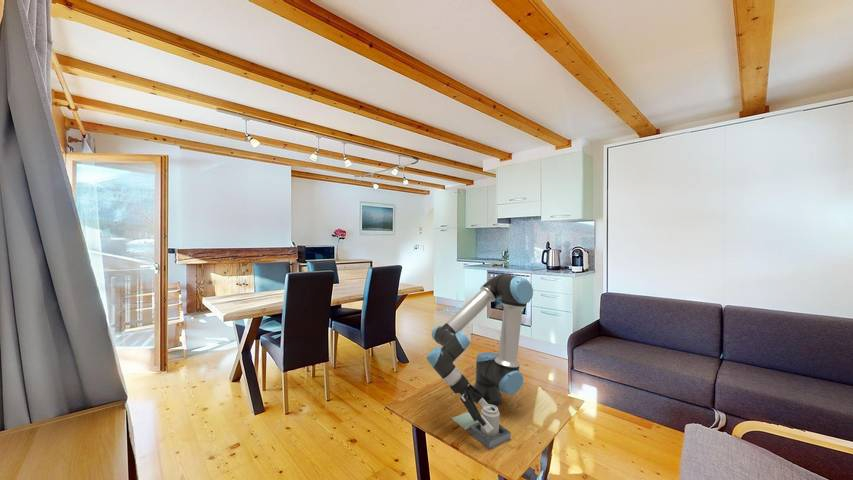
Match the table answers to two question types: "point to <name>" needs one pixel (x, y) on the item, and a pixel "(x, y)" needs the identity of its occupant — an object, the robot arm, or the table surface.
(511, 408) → the table surface
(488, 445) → the holder
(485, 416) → the can
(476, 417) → the robot arm
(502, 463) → the table surface
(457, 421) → the mat
